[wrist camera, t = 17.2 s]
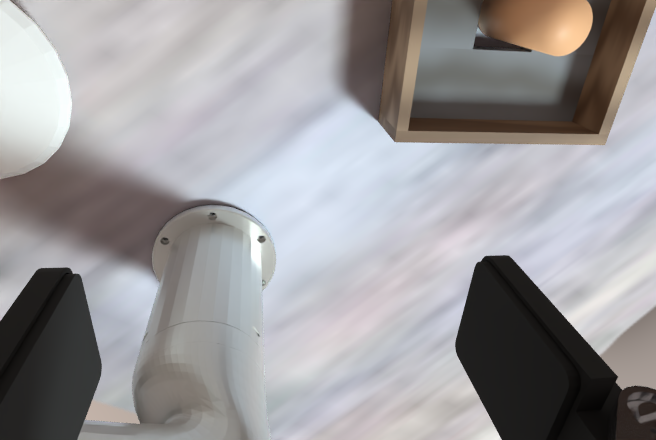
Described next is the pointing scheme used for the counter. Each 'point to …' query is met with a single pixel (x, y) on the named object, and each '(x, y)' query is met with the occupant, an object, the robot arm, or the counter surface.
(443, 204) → the counter surface
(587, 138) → the bore box
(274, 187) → the counter surface
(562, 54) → the peg
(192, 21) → the counter surface
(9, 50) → the vase
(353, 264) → the counter surface
